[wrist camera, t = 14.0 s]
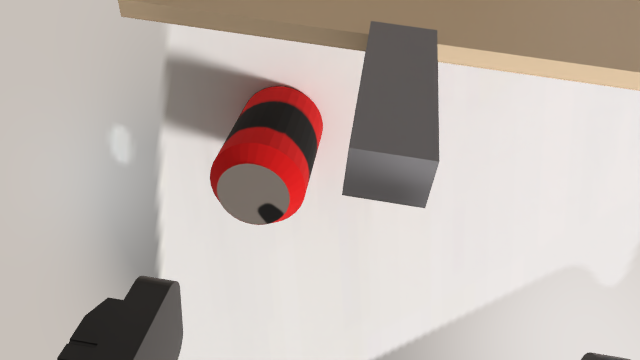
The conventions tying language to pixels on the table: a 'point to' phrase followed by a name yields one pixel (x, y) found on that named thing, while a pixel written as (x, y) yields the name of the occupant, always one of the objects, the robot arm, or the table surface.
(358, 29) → the carton flap
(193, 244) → the table surface
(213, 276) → the table surface
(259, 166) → the soda can
